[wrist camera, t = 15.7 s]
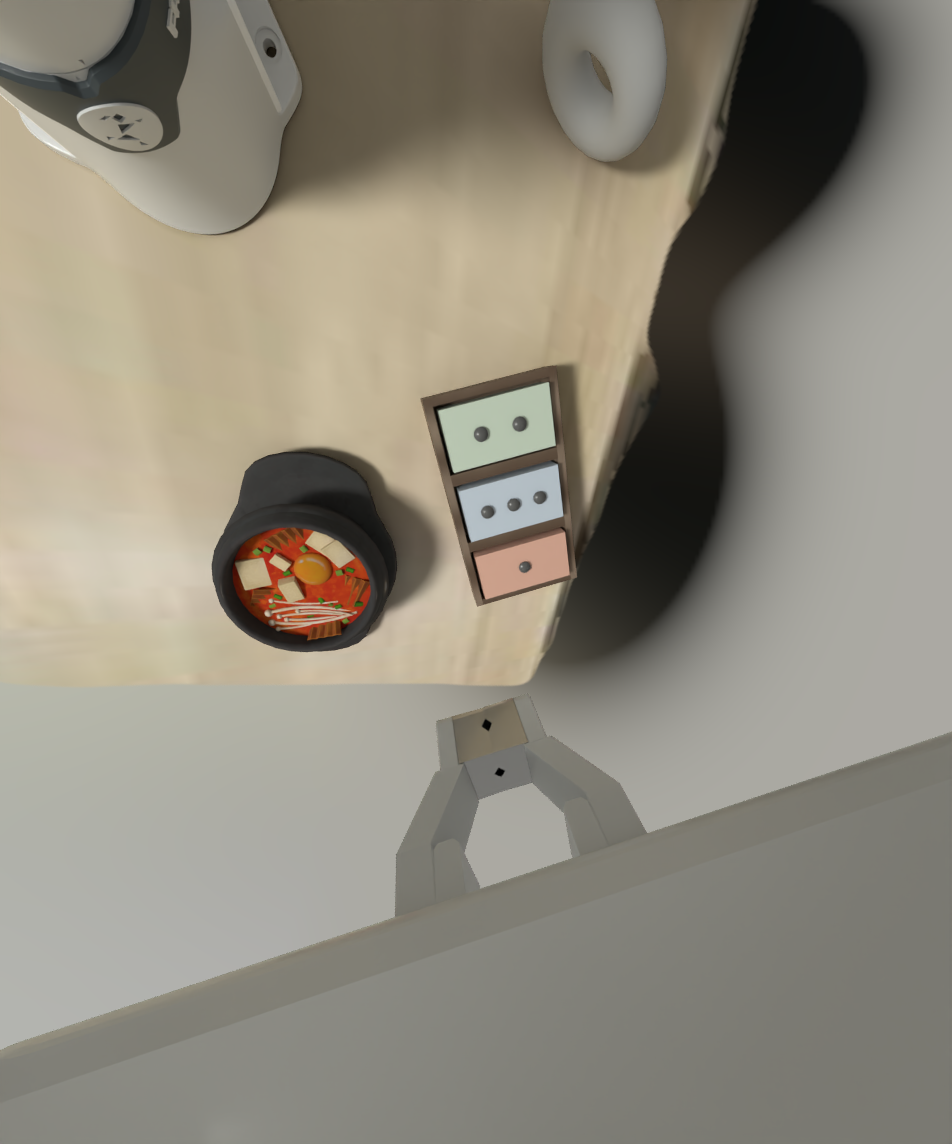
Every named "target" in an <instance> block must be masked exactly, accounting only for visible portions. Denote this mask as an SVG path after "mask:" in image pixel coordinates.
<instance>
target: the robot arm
mask: <svg viewBox="0 0 952 1144" xmlns="http://www.w3.org/2000/svg"><path fill="white" fill-rule="evenodd" d="M268 47H274V48H275V49H276V50H277V53H276V56H275V57H273V58H271V57H269V56H267V55H266V50H267V48H268ZM301 94H302V81H301V76H300V73H299V70H298V68H297V66H296V63H295V61H294V59H293V57H292V54H291V52H290V50H289V47H288V45H287V43H286V41H285V38H284V36H283V34H282V31H281V29H280V27H279V25H278V22H277V20H276V18H275V15H274V13H273V11H272V9H271V6H270V4H269V2H268V0H0V95H1V96H2V97H3V98H5V99H6V100H7V101H8V102H9V103H10V104H12V105H13V106H14V107H15V108H16V109H18V111H19V114H20V116H21V118H22V120H23V122H24V124H25V125H26V127H27V128H28V130H29V131H30V132H31V133H32V134H33V135H34V136H35V137H36V138H37V139H39V140H40V141H41V142H42V143H43V144H45V145H46V146H47V147H48V148H50V149H51V150H53V151H54V152H56V153H57V154H59V155H61V156H63V157H65V158H67V159H69V160H71V161H73V162H75V163H77V164H80V165H82V166H84V167H86V168H89V169H91V170H92V171H94V172H95V173H96V174H98V175H99V176H100V177H101V178H103V179H104V180H105V181H106V182H107V183H108V184H110V185H111V186H112V187H113V188H114V189H115V190H116V191H117V192H118V193H120V194H121V195H122V196H123V197H124V198H125V199H127V200H128V201H129V202H130V203H131V204H133V205H134V206H136V207H137V208H138V209H140V210H141V211H143V212H144V213H146V214H147V215H149V216H151V217H152V218H154V219H156V220H158V221H160V222H162V223H164V224H166V225H168V226H171V227H173V228H176V229H179V230H182V231H186V232H191V233H197V234H219V233H224V232H228V231H231V230H234V229H236V228H238V227H240V226H242V225H244V224H245V223H247V222H248V221H249V220H251V219H252V218H253V217H254V216H255V215H256V214H257V213H258V212H259V211H260V209H261V208H262V207H263V205H264V204H265V202H266V201H267V199H268V197H269V195H270V193H271V190H272V188H273V185H274V182H275V179H276V175H277V171H278V165H279V157H280V148H281V140H282V135H283V131H284V128H285V126H286V125H287V123H288V121H289V120H290V118H291V116H292V115H293V113H294V111H295V109H296V107H297V105H298V103H299V100H300V98H301ZM436 733H437V743H438V752H439V763H440V771H437V772H435V774H434V776H433V778H432V780H431V782H430V785H429V787H428V789H427V791H426V793H425V796H424V797H423V799H422V801H421V804H420V806H419V808H418V810H417V812H416V814H415V816H414V818H413V820H412V823H411V825H410V827H409V829H408V831H407V833H406V835H405V837H404V839H403V842H402V844H401V846H400V848H399V850H398V852H397V854H396V897H395V917H394V918H391V919H389V920H385V921H382V922H379V923H377V924H373V925H370V926H367V927H364V928H361V929H358V930H355V931H352V932H349V933H346V934H343V935H340V936H337V937H334V938H332V939H328V940H326V941H322V942H319V943H316V944H313V945H310V946H307V947H304V948H301V949H298V950H295V951H292V952H289V953H286V954H283V955H280V956H278V957H274V958H271V959H268V960H265V961H262V962H259V963H256V964H253V965H250V966H247V967H244V968H241V969H239V970H236V971H232V972H229V973H226V974H223V975H220V976H217V977H214V978H212V979H208V980H206V981H203V982H200V983H196V984H193V985H190V986H187V987H184V988H181V989H178V990H175V991H172V992H169V993H166V994H163V995H160V996H157V997H154V998H151V999H148V1000H145V1001H142V1002H139V1003H136V1004H133V1005H130V1006H127V1007H124V1008H121V1009H118V1010H115V1011H112V1012H109V1013H106V1014H103V1015H100V1016H97V1017H94V1018H91V1019H88V1020H85V1021H82V1022H79V1023H76V1024H73V1025H70V1026H67V1027H64V1028H61V1029H58V1030H55V1031H52V1032H49V1033H46V1034H42V1035H40V1036H36V1037H33V1038H30V1039H27V1040H24V1041H21V1042H19V1043H16V1044H13V1045H10V1046H8V1047H6V1048H4V1049H2V1050H0V1144H952V732H950V733H947V734H944V735H941V736H938V737H935V738H932V739H929V740H926V741H923V742H920V743H917V744H914V745H911V746H908V747H905V748H902V749H899V750H896V751H893V752H890V753H887V754H884V755H881V756H878V757H875V758H872V759H869V760H866V761H863V762H860V763H857V764H854V765H851V766H848V767H845V768H842V769H839V770H836V771H833V772H830V773H827V774H824V775H821V776H818V777H815V778H812V779H809V780H806V781H803V782H800V783H797V784H794V785H791V786H788V787H785V788H782V789H779V790H776V791H773V792H770V793H767V794H764V795H761V796H758V797H755V798H752V799H749V800H746V801H743V802H740V803H737V804H734V805H731V806H728V807H725V808H722V809H719V810H716V811H713V812H710V813H707V814H704V815H701V816H698V817H695V818H692V819H689V820H686V821H683V822H680V823H677V824H674V825H671V826H668V827H665V828H662V829H659V830H656V831H653V832H650V833H647V832H646V830H645V829H644V827H643V825H642V823H641V821H640V819H639V818H638V816H637V814H636V812H635V810H634V808H633V806H632V805H631V803H630V801H629V799H628V797H627V795H626V794H625V792H624V790H623V788H622V786H621V785H620V783H619V782H617V781H616V780H615V779H613V778H612V777H610V776H609V775H607V774H606V773H604V772H603V771H602V770H600V769H599V768H597V767H596V766H594V765H593V764H591V763H590V762H589V761H587V760H585V759H584V758H583V757H582V756H580V755H578V754H577V753H576V752H574V751H573V750H571V749H570V748H568V747H567V746H566V745H564V744H563V743H561V742H560V741H559V740H557V739H556V738H554V737H553V736H549V737H547V736H546V734H545V731H544V729H543V726H542V724H541V721H540V719H539V717H538V714H537V712H536V709H535V707H534V704H533V702H532V700H531V697H530V696H529V694H524V695H522V696H518V697H515V698H511V699H507V700H504V701H501V702H498V703H495V704H492V705H489V706H485V707H483V708H481V709H477V710H474V711H470V712H466V713H463V714H459V715H455V716H452V717H449V718H445V719H442V720H438V721H437V722H436ZM529 783H533V784H534V785H535V786H536V787H537V788H538V789H539V790H540V791H542V793H543V794H544V795H546V796H547V797H548V798H549V799H550V800H551V801H552V802H553V803H554V804H555V805H556V806H557V807H558V808H559V809H560V810H561V811H562V812H563V813H564V815H565V821H566V827H567V832H568V837H569V843H570V849H571V854H572V857H573V858H572V859H568V860H565V861H563V862H560V863H557V864H553V865H550V866H547V867H544V868H541V869H538V870H535V871H533V872H530V873H526V874H524V875H520V876H518V877H514V878H511V879H509V880H506V881H502V882H499V883H496V884H493V885H491V886H487V887H484V888H482V889H480V885H479V883H478V881H477V879H476V877H475V874H474V872H473V871H472V868H471V866H470V864H469V862H468V860H467V858H466V856H465V854H464V852H465V849H466V845H467V841H468V838H469V834H470V831H471V828H472V824H473V821H474V817H475V814H476V810H477V807H478V803H479V801H478V800H479V799H482V798H485V797H488V796H491V795H494V794H496V793H499V792H502V791H505V790H508V789H512V788H515V787H519V786H522V785H526V784H529Z"/></svg>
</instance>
